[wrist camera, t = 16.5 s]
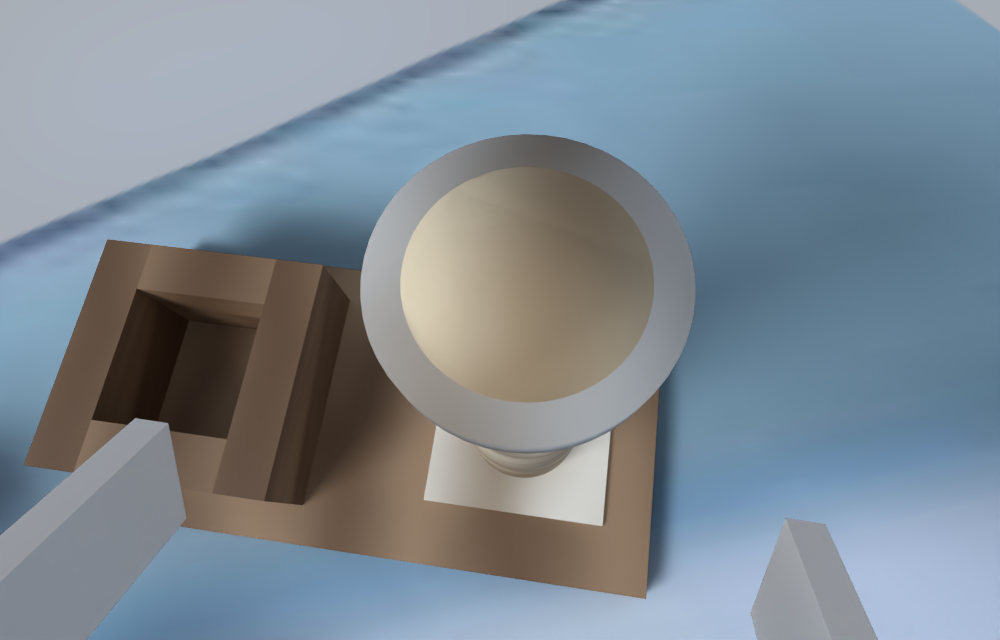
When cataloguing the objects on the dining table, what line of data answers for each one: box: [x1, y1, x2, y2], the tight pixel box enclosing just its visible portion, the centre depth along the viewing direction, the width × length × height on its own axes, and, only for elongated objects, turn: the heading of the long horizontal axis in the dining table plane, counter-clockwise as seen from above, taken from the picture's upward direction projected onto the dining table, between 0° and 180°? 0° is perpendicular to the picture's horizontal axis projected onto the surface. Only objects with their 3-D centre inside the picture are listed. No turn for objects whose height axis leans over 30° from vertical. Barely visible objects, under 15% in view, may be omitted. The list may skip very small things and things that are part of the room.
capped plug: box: [360, 134, 696, 478], centre depth 18 cm, size 6×6×16 cm
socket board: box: [24, 240, 659, 599], centre depth 25 cm, size 23×12×5 cm, turn 82°
